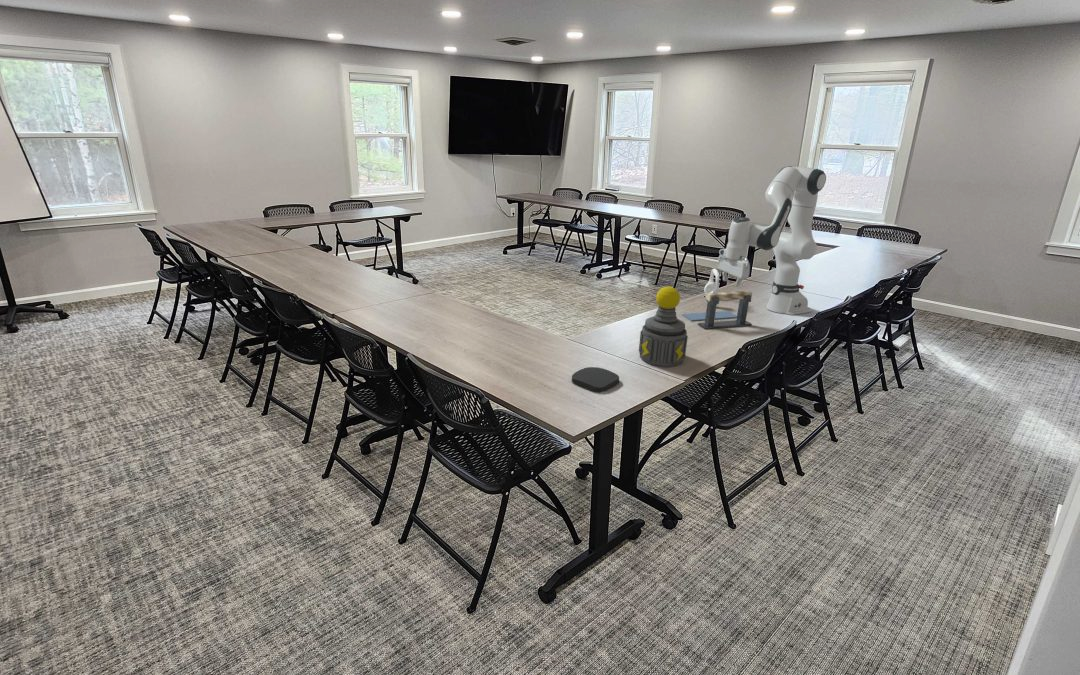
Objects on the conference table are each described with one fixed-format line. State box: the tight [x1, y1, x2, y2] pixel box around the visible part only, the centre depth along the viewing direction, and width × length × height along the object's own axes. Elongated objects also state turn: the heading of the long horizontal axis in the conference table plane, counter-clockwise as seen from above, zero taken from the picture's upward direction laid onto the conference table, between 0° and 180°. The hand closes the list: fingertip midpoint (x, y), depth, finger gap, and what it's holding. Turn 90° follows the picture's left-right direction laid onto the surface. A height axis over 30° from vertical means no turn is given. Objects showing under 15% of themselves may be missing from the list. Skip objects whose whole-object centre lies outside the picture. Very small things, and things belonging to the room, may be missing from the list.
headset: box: [701, 268, 721, 303], centre depth 298 cm, size 20×7×18 cm, turn 172°
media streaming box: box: [571, 366, 620, 393], centre depth 206 cm, size 15×15×3 cm
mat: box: [681, 310, 737, 322], centre depth 279 cm, size 26×9×1 cm, turn 105°
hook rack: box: [697, 295, 753, 330], centre depth 265 cm, size 25×6×15 cm, turn 105°
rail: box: [705, 290, 753, 302], centre depth 262 cm, size 22×3×3 cm, turn 105°
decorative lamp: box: [638, 286, 689, 368], centre depth 223 cm, size 19×19×30 cm
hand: (730, 283), depth 260 cm, fingers open, 8 cm apart
